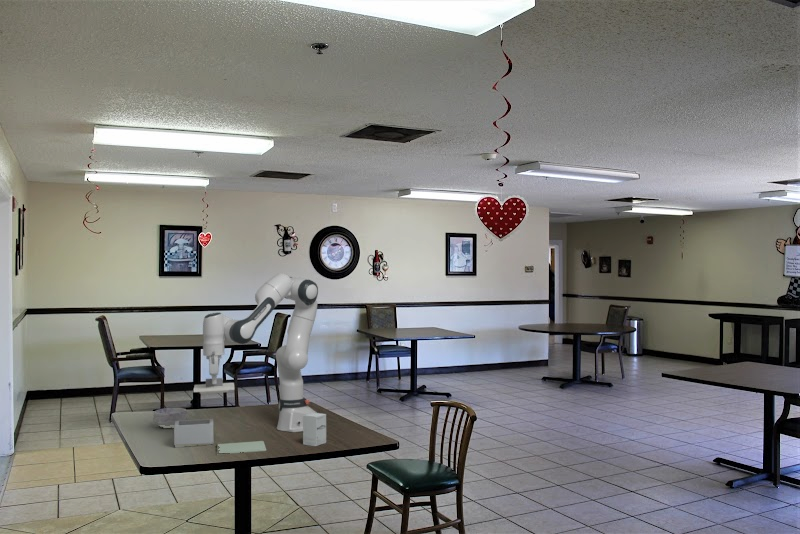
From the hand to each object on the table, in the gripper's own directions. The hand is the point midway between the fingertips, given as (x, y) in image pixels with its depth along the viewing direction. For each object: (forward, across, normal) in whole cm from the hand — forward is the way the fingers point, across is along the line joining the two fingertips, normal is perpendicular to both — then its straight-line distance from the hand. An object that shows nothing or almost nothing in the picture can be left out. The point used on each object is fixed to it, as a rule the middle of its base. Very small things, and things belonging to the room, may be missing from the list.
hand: (214, 383), depth 296 cm
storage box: (+26, +6, +9) cm, 29 cm away
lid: (+4, 0, 0) cm, 4 cm away
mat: (+27, -8, -10) cm, 30 cm away
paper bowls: (+27, +45, +22) cm, 57 cm away
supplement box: (+27, -10, -41) cm, 51 cm away
